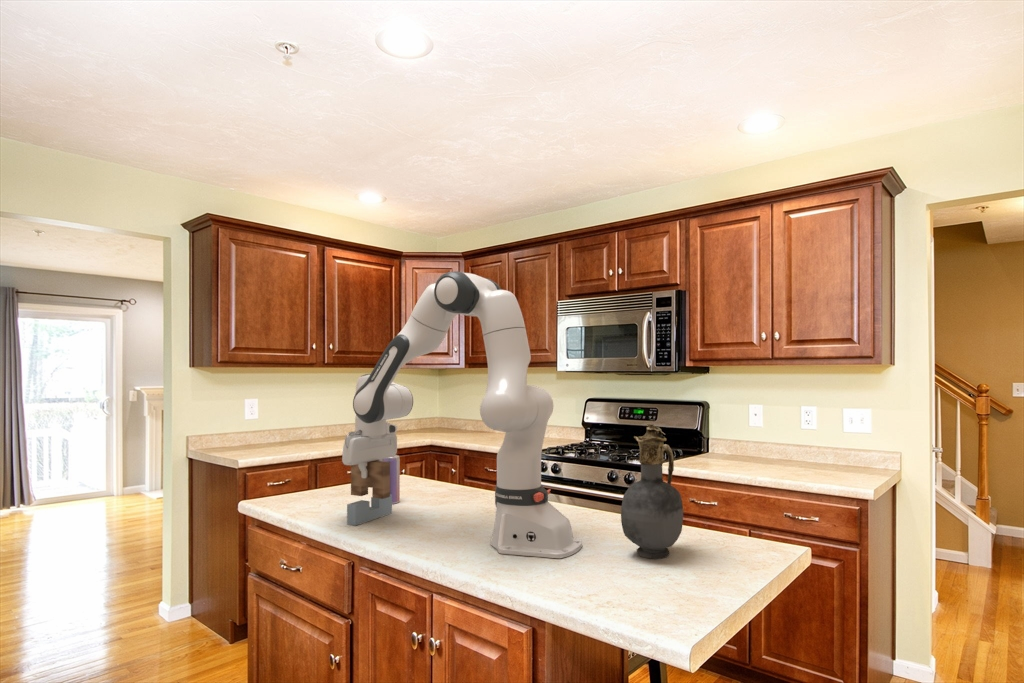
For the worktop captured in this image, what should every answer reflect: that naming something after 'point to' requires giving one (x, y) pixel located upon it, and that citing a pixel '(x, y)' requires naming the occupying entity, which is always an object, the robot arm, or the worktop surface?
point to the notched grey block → (368, 510)
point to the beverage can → (394, 477)
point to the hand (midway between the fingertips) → (370, 476)
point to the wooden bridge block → (372, 480)
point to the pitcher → (652, 500)
